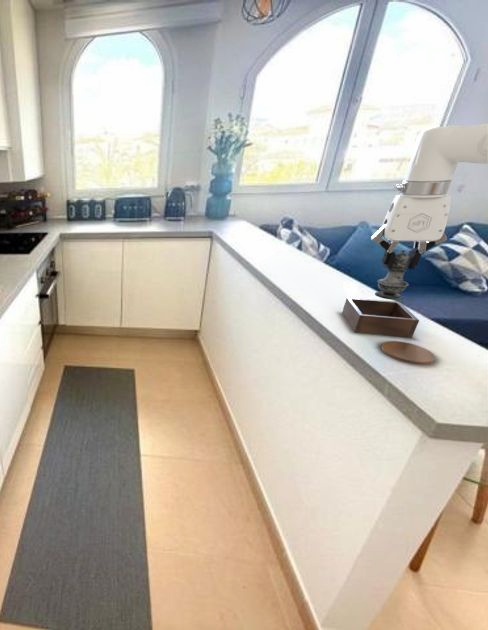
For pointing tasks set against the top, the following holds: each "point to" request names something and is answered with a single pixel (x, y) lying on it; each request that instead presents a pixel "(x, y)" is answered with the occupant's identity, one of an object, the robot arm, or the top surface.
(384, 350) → the coaster
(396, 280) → the stone chess piece
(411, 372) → the top surface
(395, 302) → the crate
